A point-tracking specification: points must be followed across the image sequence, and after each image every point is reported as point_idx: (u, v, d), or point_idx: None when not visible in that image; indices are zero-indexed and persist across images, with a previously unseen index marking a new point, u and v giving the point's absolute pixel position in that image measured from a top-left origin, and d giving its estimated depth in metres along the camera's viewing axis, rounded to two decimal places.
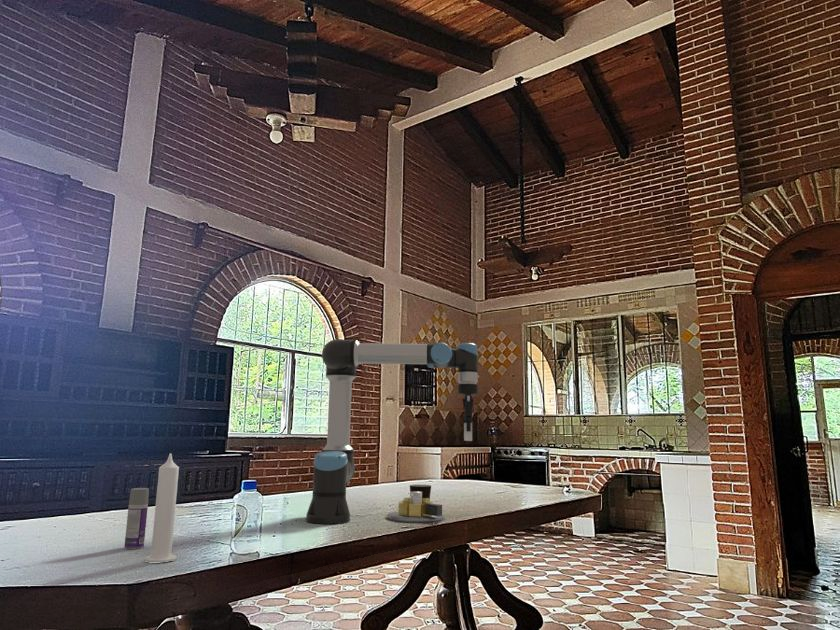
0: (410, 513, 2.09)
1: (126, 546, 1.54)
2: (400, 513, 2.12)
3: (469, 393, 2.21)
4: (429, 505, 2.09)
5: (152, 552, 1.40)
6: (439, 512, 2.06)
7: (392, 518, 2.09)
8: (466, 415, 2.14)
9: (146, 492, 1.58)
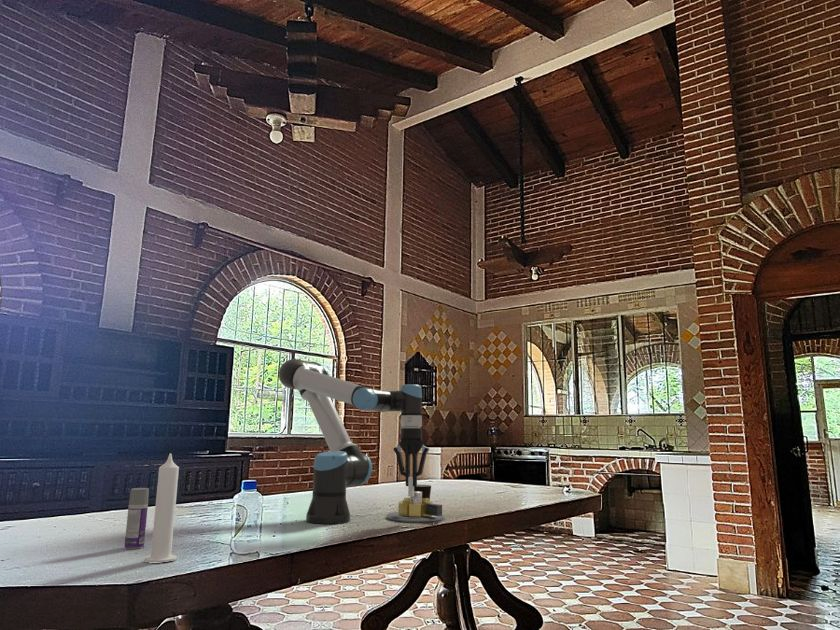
0: (410, 513, 2.09)
1: (126, 546, 1.54)
2: (400, 513, 2.12)
3: (401, 438, 2.11)
4: (429, 505, 2.09)
5: (152, 552, 1.40)
6: (439, 512, 2.06)
7: (392, 518, 2.09)
8: None
9: (146, 492, 1.58)
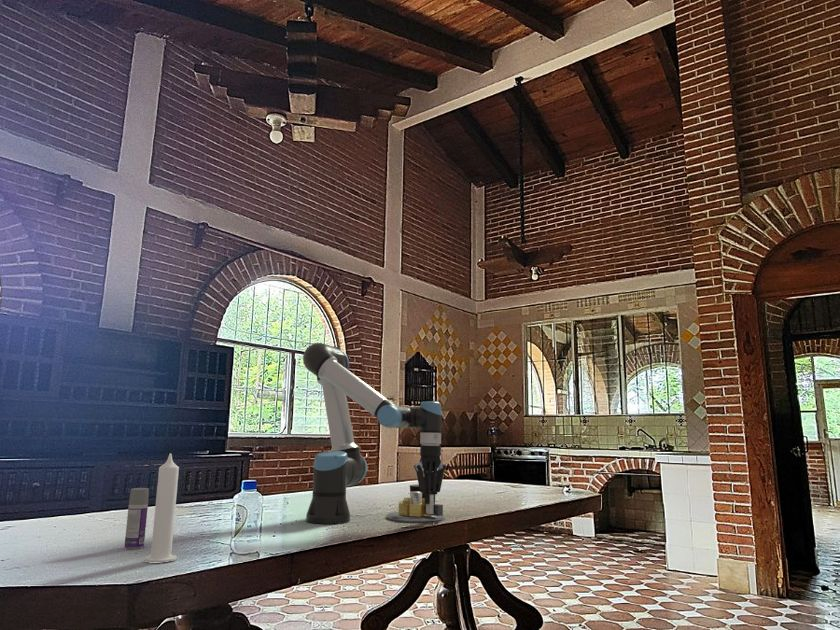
0: (410, 513, 2.09)
1: (126, 546, 1.54)
2: (400, 513, 2.12)
3: (422, 456, 2.09)
4: None
5: (152, 552, 1.40)
6: (440, 512, 2.07)
7: (392, 518, 2.09)
8: (419, 488, 2.08)
9: (146, 492, 1.58)
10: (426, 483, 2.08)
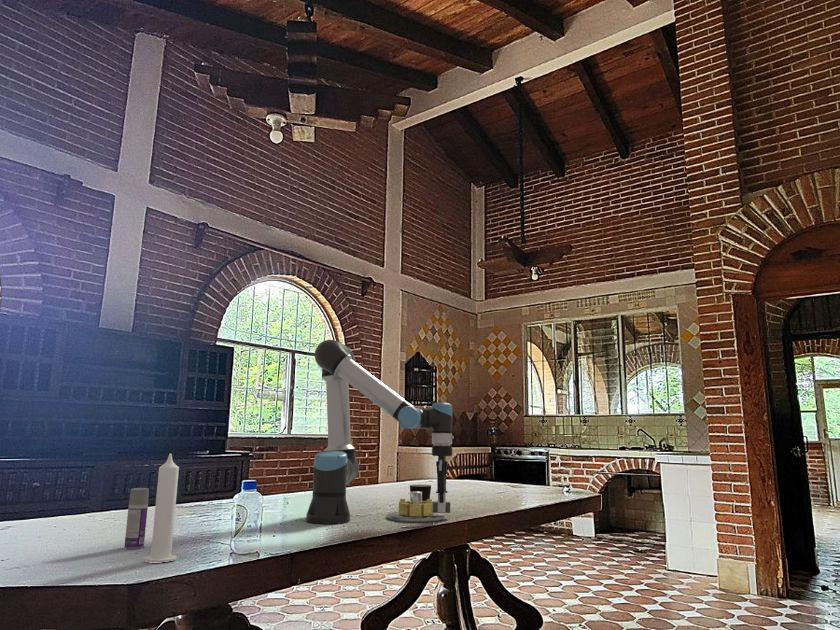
0: (424, 513, 2.10)
1: (126, 546, 1.54)
2: (411, 514, 2.09)
3: (442, 456, 2.14)
4: None
5: (152, 552, 1.40)
6: None
7: (392, 518, 2.09)
8: (438, 487, 2.11)
9: (146, 492, 1.58)
10: None
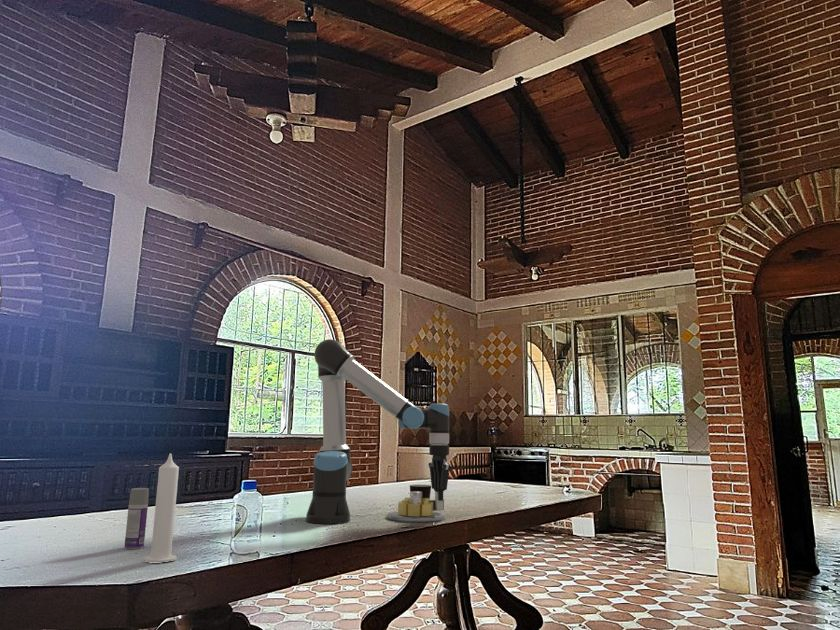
0: (432, 512, 2.13)
1: (126, 546, 1.54)
2: (423, 514, 2.10)
3: (445, 455, 2.20)
4: None
5: (152, 552, 1.40)
6: None
7: (392, 518, 2.09)
8: (442, 486, 2.17)
9: (146, 492, 1.58)
10: None
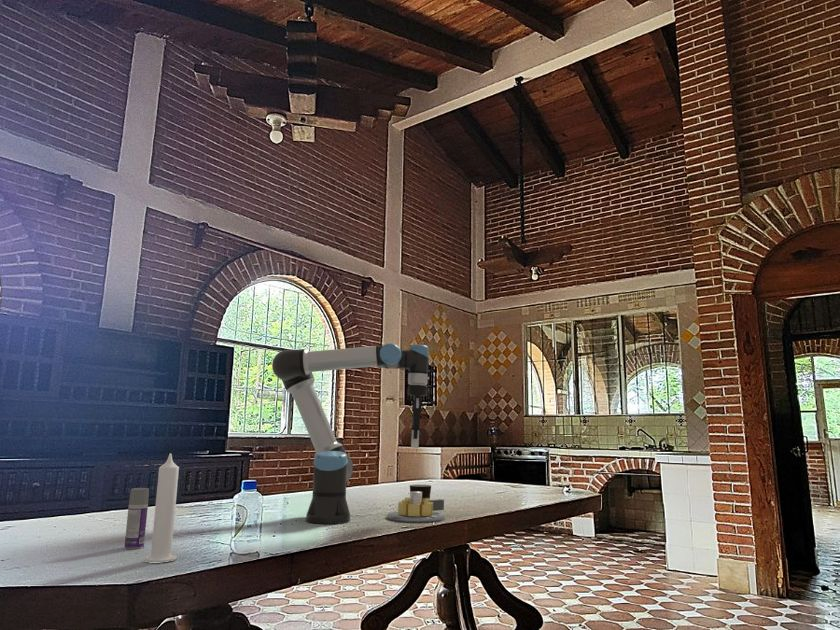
0: (432, 512, 2.13)
1: (126, 546, 1.54)
2: (423, 514, 2.10)
3: (419, 394, 2.23)
4: (435, 501, 2.20)
5: (152, 552, 1.40)
6: None
7: (392, 518, 2.09)
8: (414, 424, 2.21)
9: (146, 492, 1.58)
10: None
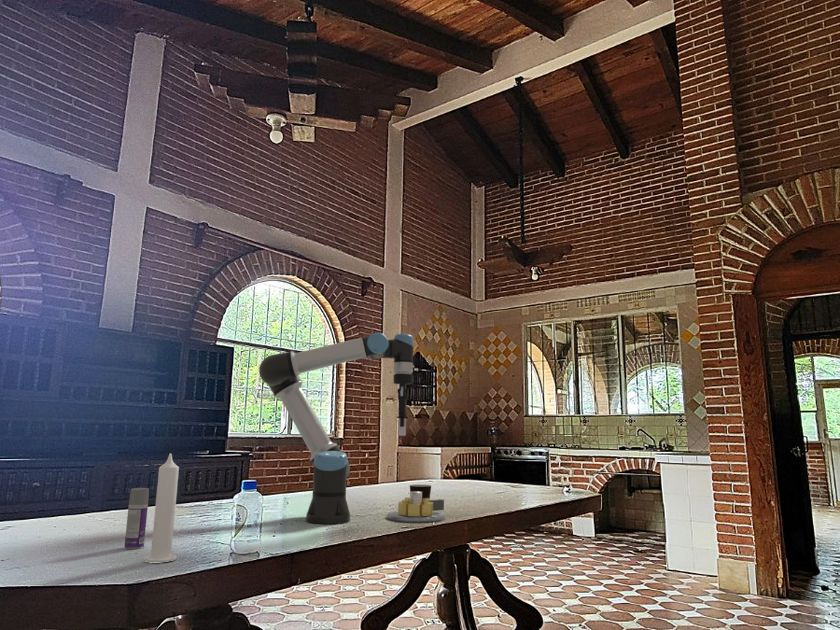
0: (432, 512, 2.13)
1: (126, 546, 1.54)
2: (423, 514, 2.10)
3: (403, 383, 2.26)
4: (435, 501, 2.20)
5: (152, 552, 1.40)
6: None
7: (392, 518, 2.09)
8: (399, 412, 2.24)
9: (146, 492, 1.58)
10: None
